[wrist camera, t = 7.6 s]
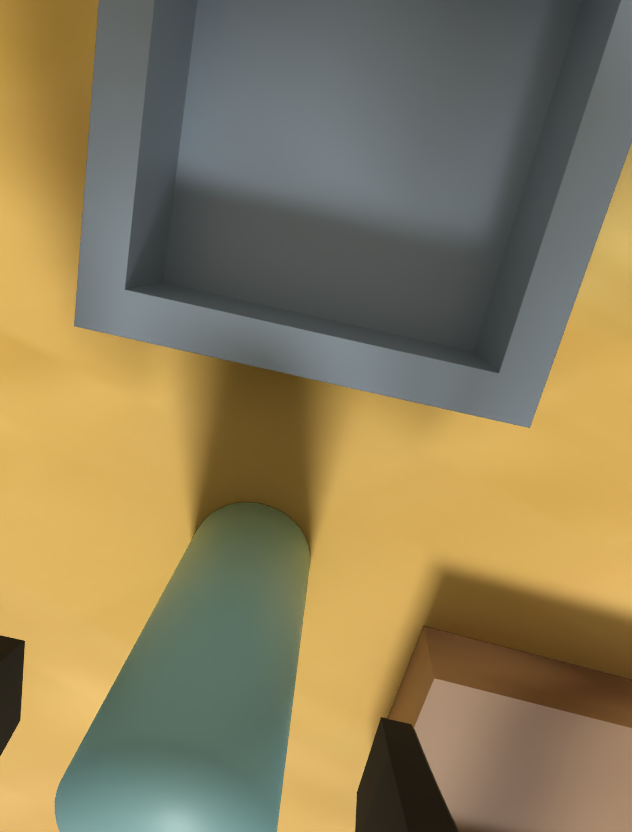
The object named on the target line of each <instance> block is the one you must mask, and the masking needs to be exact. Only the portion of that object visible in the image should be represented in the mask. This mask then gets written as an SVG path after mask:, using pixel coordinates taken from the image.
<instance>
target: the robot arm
mask: <svg viewBox="0 0 632 832" xmlns="http://www.w3.org/2000/svg"><path fill="white" fill-rule="evenodd" d="M24 647H25V641H23V640H19V639H14V638H9V637H5V636H0V756H1V754H2V752H3V750H4V749H5V747H6V745H7V743H8V741H9V740H10V738H11V736H12V734H13V732H14V731H15V729H16V727H17V725H18V723H19V721H20V714H21V697H22V681H23V664H24ZM355 832H459V830H458V828H457V826H456V824H455V822H454V820H453V818H452V816H451V813H450V811H449V809H448V807H447V805H446V802H445V800H444V798H443V796H442V794H441V791H440V789H439V787H438V784H437V782H436V780H435V778H434V775H433V773H432V771H431V768H430V766H429V763H428V761H427V759H426V756H425V754H424V751H423V749H422V746H421V744H420V741H419V739H418V736H417V734H416V731H415V729H414V728H413V726H412V724H409V723H404V722H399V721H395V720H390V719H386V718H381V720H380V723H379V726H378V729H377V732H376V735H375V738H374V741H373V745H372V748H371V751H370V754H369V757H368V760H367V763H366V766H365V769H364V772H363V776H362V779H361V782H360V785H359V788H358V791H357V806H356V829H355Z"/></svg>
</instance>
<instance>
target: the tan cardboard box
mask: <svg viewBox="0 0 632 832" xmlns="http://www.w3.org/2000/svg"><path fill="white" fill-rule="evenodd" d="M388 719H390V720H395V721H399V722H404V723H409V724H412V726H413V728H414V729H415V731H416V734H417V736H418V739H419V741H420V744H421V746H422V749H423V751H424V754H425V756H426V759H427V761H428V763H429V766H430V768H431V771H432V773H433V775H434V778H435V780H436V782H437V784H438V787H439V789H440V791H441V794H442V796H443V798H444V800H445V802H446V805H447V807H448V809H449V811H450V813H451V816H452V818H453V820H454V822H455V824H456V826H457V828H458V830H459V832H632V680H630V679H626V678H622V677H619V676H615V675H611V674H607V673H603V672H599V671H595V670H591V669H588V668H584V667H580V666H576V665H572V664H568V663H564V662H560V661H557V660H553V659H549V658H545V657H541V656H537V655H533V654H529V653H525V652H522V651H518V650H514V649H510V648H506V647H502V646H498V645H494V644H491V643H487V642H483V641H479V640H475V639H471V638H467V637H463V636H460V635H456V634H452V633H448V632H444V631H440V630H436V629H432V628H429V627H425V626H423V629H422V632H421V634H420V637H419V639H418V642H417V645H416V647H415V650H414V652H413V655H412V657H411V660H410V663H409V665H408V668H407V670H406V673H405V676H404V678H403V681H402V683H401V686H400V689H399V691H398V694H397V696H396V699H395V701H394V704H393V707H392V709H391V712H390V714H389V717H388Z"/></svg>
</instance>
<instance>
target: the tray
mask: <svg viewBox="0 0 632 832" xmlns="http://www.w3.org/2000/svg"><path fill="white" fill-rule="evenodd" d="M631 142H632V0H99V6H98V19H97V32H96V45H95V59H94V72H93V85H92V98H91V111H90V124H89V137H88V150H87V164H86V177H85V190H84V203H83V216H82V229H81V242H80V255H79V269H78V282H77V295H76V308H75V321H74V326H76V327H80V328H84V329H89V330H93V331H98V332H102V333H107V334H111V335H116V336H120V337H125V338H129V339H134V340H138V341H143V342H147V343H152V344H156V345H161V346H165V347H170V348H174V349H178V350H183V351H187V352H192V353H196V354H201V355H205V356H210V357H214V358H219V359H223V360H228V361H232V362H237V363H241V364H246V365H250V366H255V367H259V368H264V369H268V370H272V371H277V372H281V373H286V374H290V375H295V376H299V377H304V378H308V379H313V380H317V381H322V382H326V383H331V384H335V385H340V386H344V387H349V388H353V389H358V390H362V391H366V392H371V393H375V394H380V395H384V396H389V397H393V398H398V399H402V400H407V401H411V402H416V403H420V404H425V405H429V406H434V407H438V408H443V409H447V410H451V411H456V412H460V413H465V414H469V415H474V416H478V417H483V418H487V419H492V420H496V421H501V422H505V423H510V424H514V425H519V426H523V427H528V428H530V426H531V423H532V420H533V417H534V415H535V412H536V409H537V406H538V403H539V401H540V398H541V395H542V392H543V389H544V386H545V384H546V381H547V378H548V375H549V372H550V370H551V367H552V364H553V361H554V358H555V356H556V353H557V350H558V347H559V344H560V342H561V339H562V336H563V333H564V330H565V328H566V325H567V322H568V319H569V316H570V314H571V311H572V308H573V305H574V302H575V300H576V297H577V294H578V291H579V288H580V285H581V283H582V280H583V277H584V274H585V271H586V269H587V266H588V263H589V260H590V257H591V255H592V252H593V249H594V246H595V243H596V241H597V238H598V235H599V232H600V229H601V227H602V224H603V221H604V218H605V215H606V213H607V210H608V207H609V204H610V201H611V199H612V196H613V193H614V190H615V187H616V185H617V182H618V179H619V176H620V173H621V170H622V168H623V165H624V162H625V159H626V156H627V154H628V151H629V148H630V145H631Z"/></svg>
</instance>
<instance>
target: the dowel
mask: <svg viewBox="0 0 632 832" xmlns="http://www.w3.org/2000/svg"><path fill="white" fill-rule="evenodd" d="M309 568H310V550H309V546H308V542H307V540H306V538H305V535H304V534H303V532H302V531H301V529H300V528H299V526H298V525H297V524H296V523H295V522H294V521H293V520H292V519H291V518H290V517H288V516H287V515H286V514H284V513H283V512H281V511H279V510H277V509H275V508H273V507H270V506H268V505H264V504H260V503H253V502H242V503H235V504H230V505H227V506H224V507H222V508H220V509H218V510H216V511H214V512H213V513H211V514H210V515H209V516H208V517H207V518H206V519H205V520H204V521H203V522H202V523H201V525H200V526H199V528H198V529H197V531H196V533H195V535H194V537H193V539H192V540H191V542H190V544H189V546H188V548H187V550H186V551H185V553H184V555H183V557H182V559H181V561H180V562H179V564H178V566H177V568H176V570H175V572H174V573H173V575H172V577H171V579H170V581H169V583H168V585H167V586H166V588H165V590H164V592H163V594H162V596H161V597H160V599H159V601H158V603H157V605H156V607H155V608H154V610H153V612H152V614H151V616H150V618H149V619H148V621H147V623H146V625H145V627H144V629H143V630H142V632H141V634H140V636H139V638H138V640H137V641H136V643H135V645H134V647H133V649H132V651H131V653H130V654H129V656H128V658H127V660H126V662H125V664H124V665H123V667H122V669H121V671H120V673H119V675H118V676H117V678H116V680H115V682H114V684H113V686H112V687H111V689H110V691H109V693H108V695H107V697H106V698H105V700H104V702H103V704H102V706H101V708H100V710H99V711H98V713H97V715H96V717H95V719H94V721H93V722H92V724H91V726H90V728H89V730H88V732H87V733H86V735H85V737H84V739H83V741H82V743H81V744H80V746H79V748H78V750H77V752H76V754H75V755H74V757H73V759H72V761H71V763H70V765H69V766H68V768H67V770H66V772H65V774H64V776H63V778H62V779H61V781H60V784H59V786H58V789H57V792H56V798H55V816H56V822H57V825H58V828H59V831H60V832H277V825H278V817H279V809H280V801H281V793H282V785H283V777H284V769H285V761H286V753H287V745H288V737H289V729H290V721H291V713H292V705H293V697H294V689H295V681H296V672H297V664H298V656H299V648H300V640H301V632H302V624H303V616H304V608H305V600H306V592H307V584H308V576H309Z"/></svg>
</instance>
